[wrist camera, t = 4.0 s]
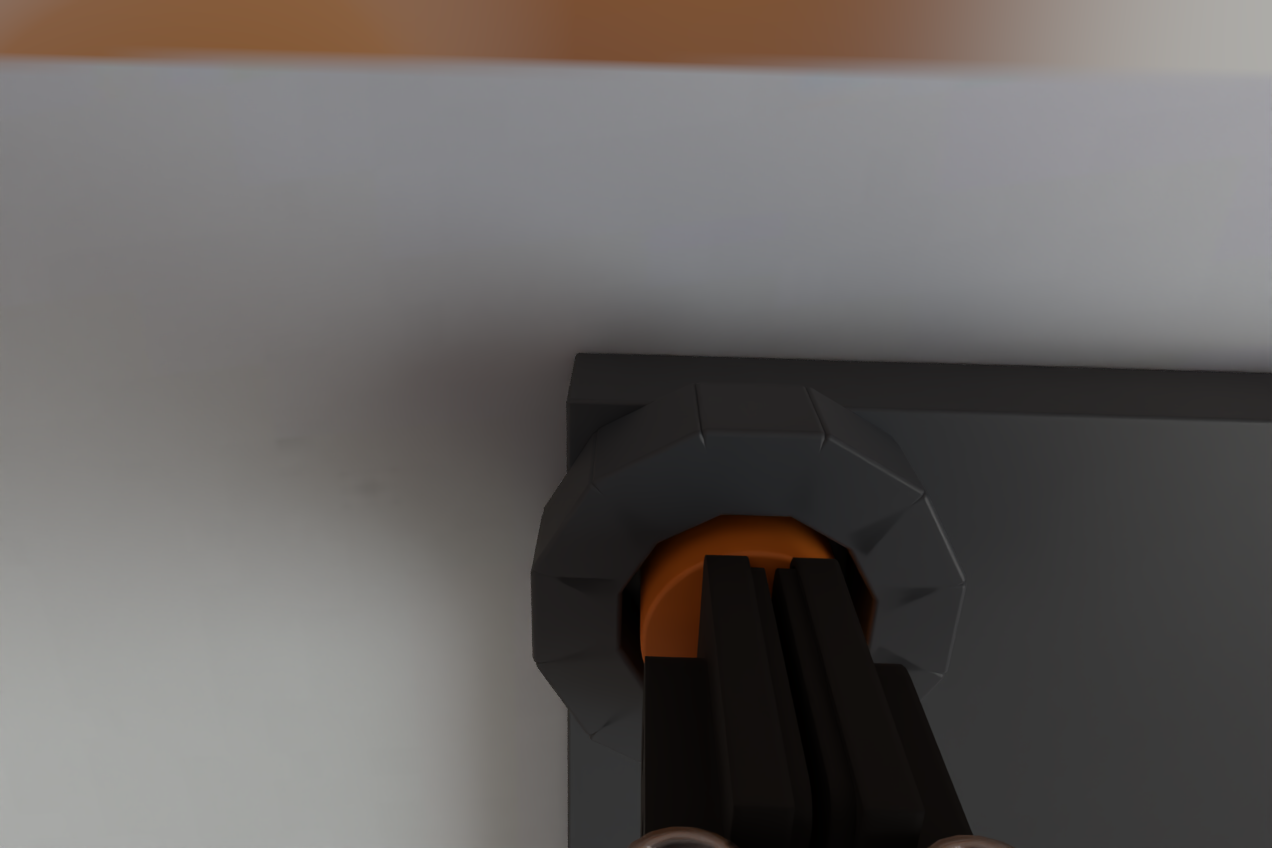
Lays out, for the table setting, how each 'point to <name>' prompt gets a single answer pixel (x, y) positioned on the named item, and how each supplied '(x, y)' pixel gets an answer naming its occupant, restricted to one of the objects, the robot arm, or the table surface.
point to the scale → (953, 573)
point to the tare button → (679, 572)
